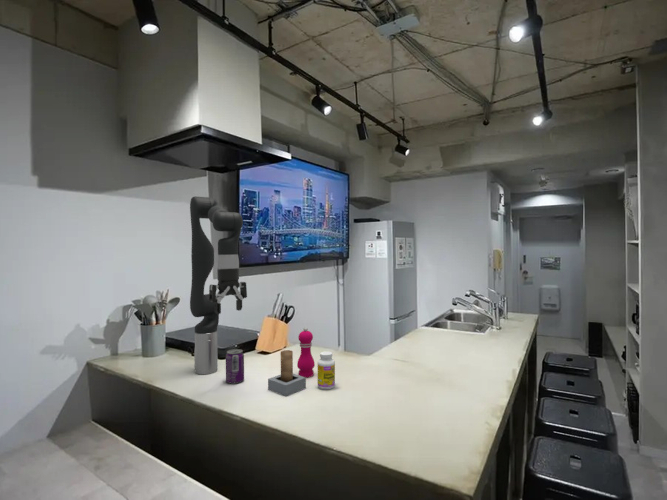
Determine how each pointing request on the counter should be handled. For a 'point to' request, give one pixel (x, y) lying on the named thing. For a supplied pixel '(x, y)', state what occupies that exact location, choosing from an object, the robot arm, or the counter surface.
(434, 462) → the counter surface
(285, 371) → the peg
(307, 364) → the pepper mill
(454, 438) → the counter surface
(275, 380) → the socket
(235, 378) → the beverage can
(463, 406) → the counter surface
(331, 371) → the supplement bottle
